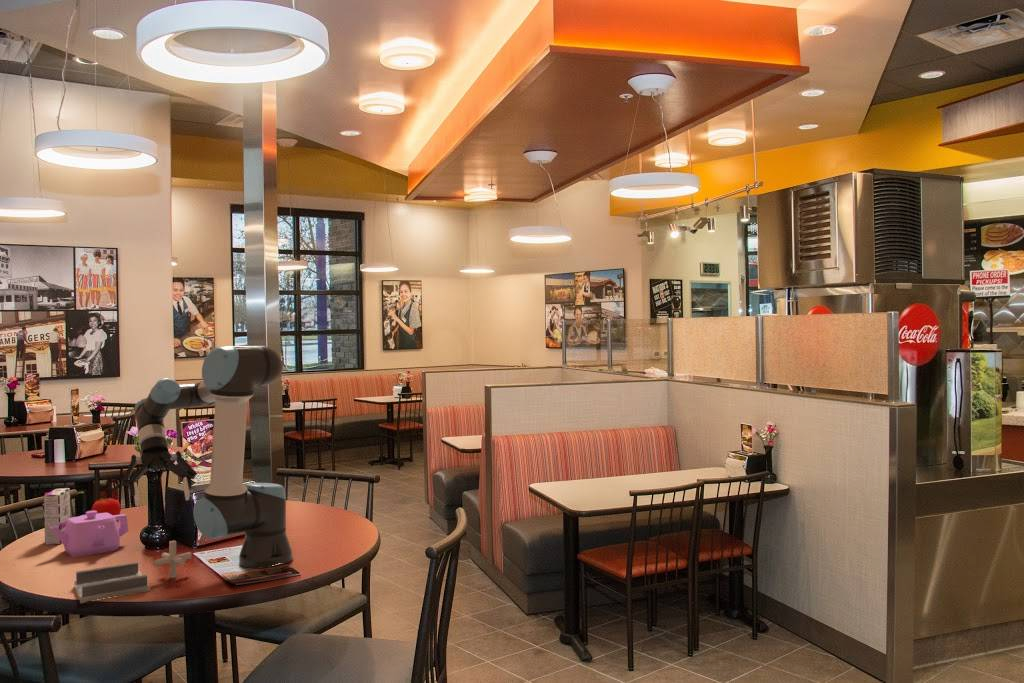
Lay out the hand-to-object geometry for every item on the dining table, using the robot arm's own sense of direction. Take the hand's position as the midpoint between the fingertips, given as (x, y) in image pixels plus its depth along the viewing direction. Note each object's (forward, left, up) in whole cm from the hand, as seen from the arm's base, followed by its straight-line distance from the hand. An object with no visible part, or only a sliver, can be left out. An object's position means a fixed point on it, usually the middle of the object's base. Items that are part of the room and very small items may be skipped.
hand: (163, 500), depth 224 cm
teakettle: (+32, -18, -20) cm, 42 cm away
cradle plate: (+5, +19, -19) cm, 28 cm away
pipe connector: (-7, +9, -20) cm, 23 cm away
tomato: (+49, -57, -20) cm, 78 cm away
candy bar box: (+50, -30, -20) cm, 62 cm away
